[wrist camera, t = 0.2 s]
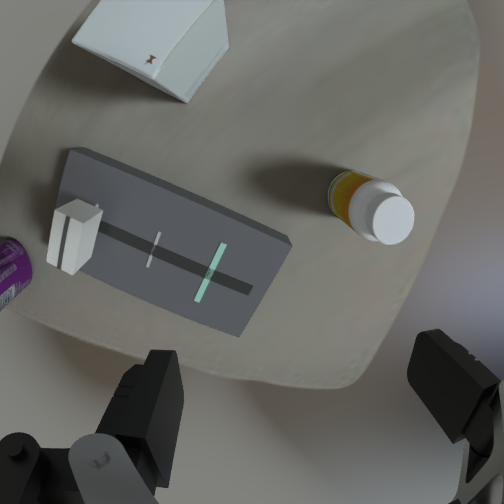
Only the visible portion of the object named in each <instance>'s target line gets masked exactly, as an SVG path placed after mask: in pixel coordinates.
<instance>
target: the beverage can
mask: <svg viewBox="0 0 504 504" xmlns="http://www.w3.org/2000/svg"><path fill="white" fill-rule="evenodd" d="M31 279H32V266H31V262H30V259H29V257H28V255H27V253H26V251H25V250H24V248H23V247H22V246H21V245H20V244H19V243H18V242H16V241H14V240H12V239H6V240H4V241H2V242H0V311H1V310H2V309H3V308H4V307H5V306H6V305H7V304H8V303H9V302H10V301H11V300H12V299H13V298H15V297H16V296H17V295H18V294H19V293H20V292H21V291H22V290H23V289H24V288H25V287H26V286H27V285H28V284H29V283H30V281H31Z"/></svg>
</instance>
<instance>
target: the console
mask: <svg viewBox="0 0 504 504" xmlns="http://www.w3.org/2000/svg"><path fill="white" fill-rule="evenodd" d="M75 199H80V200H82V201H84V202H86V203H88V204H90V205H93V206H95V207H97V208H99V209H101V210H103V213H102V217H101V221H100V224H99V228H98V232H97V236H96V239H95V244H94V248H93V252H92V256H91V258H90V259H89V260H88V261H87V262H86V263H85V264H84V265H83V266H82V267H81V268H80V269H79V270H80V271H82V272H84V273H86V274H88V275H90V276H92V277H94V278H96V279H98V280H101V281H103V282H105V283H107V284H109V285H111V286H113V287H115V288H118V289H120V290H122V291H124V292H126V293H128V294H131V295H133V296H135V297H137V298H140V299H142V300H144V301H147V302H149V303H151V304H154V305H156V306H158V307H161V308H163V309H166V310H168V311H170V312H173V313H175V314H178V315H180V316H183V317H185V318H188V319H190V320H193V321H196V322H198V323H201V324H203V325H206V326H209V327H211V328H214V329H217V330H219V331H222V332H225V333H228V334H231V335H233V336H236V337H240V335H241V334H242V332H243V330H244V329H245V327H246V325H247V324H248V322H249V320H250V318H251V317H252V315H253V313H254V312H255V310H256V308H257V307H258V305H259V303H260V302H261V300H262V298H263V296H264V295H265V293H266V291H267V290H268V288H269V286H270V284H271V283H272V281H273V279H274V278H275V276H276V274H277V272H278V271H279V269H280V267H281V265H282V264H283V262H284V260H285V258H286V257H287V255H288V253H289V251H290V250H291V248H292V244H291V242H290V240H289V238H288V236H286V235H284V234H282V233H280V232H278V231H276V230H274V229H271V228H269V227H267V226H265V225H263V224H261V223H258V222H256V221H254V220H252V219H250V218H248V217H245V216H243V215H241V214H239V213H237V212H234V211H232V210H230V209H228V208H225V207H223V206H221V205H219V204H217V203H214V202H212V201H210V200H208V199H205V198H203V197H201V196H199V195H196V194H194V193H192V192H189V191H187V190H185V189H183V188H180V187H178V186H176V185H173V184H171V183H169V182H166V181H164V180H162V179H159V178H157V177H155V176H152V175H150V174H148V173H145V172H143V171H140V170H138V169H136V168H133V167H131V166H128V165H126V164H124V163H121V162H119V161H116V160H114V159H111V158H109V157H107V156H104V155H102V154H99V153H97V152H94V151H92V150H89V149H87V148H84V147H83V148H76V149H70V151H69V154H68V158H67V161H66V165H65V168H64V172H63V175H62V179H61V183H60V187H59V191H58V196H57V200H56V205H55V209H57V208H59V207H61V206H63V205H65V204H67V203H69V202H71V201H73V200H75ZM55 209H54V212H55ZM53 217H54V214H53ZM52 222H53V220H52ZM51 227H52V225H51ZM50 233H51V231H50ZM49 239H50V237H49ZM48 246H49V243H48ZM47 253H48V250H47Z"/></svg>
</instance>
